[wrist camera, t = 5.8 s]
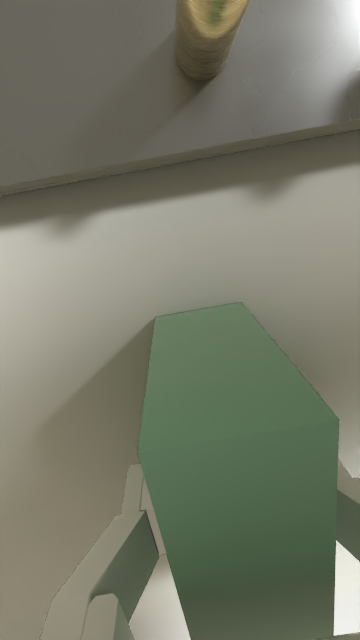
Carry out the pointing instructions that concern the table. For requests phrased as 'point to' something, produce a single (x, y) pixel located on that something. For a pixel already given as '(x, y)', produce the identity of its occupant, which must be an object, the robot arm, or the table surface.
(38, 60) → the chassis plate
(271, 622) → the green block
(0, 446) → the table surface
